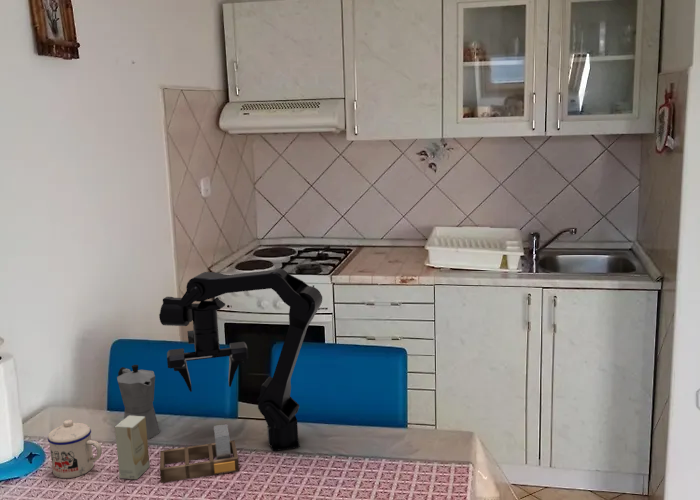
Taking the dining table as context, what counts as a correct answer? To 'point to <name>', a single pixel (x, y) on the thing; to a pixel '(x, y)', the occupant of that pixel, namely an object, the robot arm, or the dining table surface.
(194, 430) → the dining table surface
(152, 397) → the coffeepot
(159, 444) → the dining table surface
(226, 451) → the grey metallic rectangular block
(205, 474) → the rack
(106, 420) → the dining table surface
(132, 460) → the skincare box
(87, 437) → the teacup with lid
